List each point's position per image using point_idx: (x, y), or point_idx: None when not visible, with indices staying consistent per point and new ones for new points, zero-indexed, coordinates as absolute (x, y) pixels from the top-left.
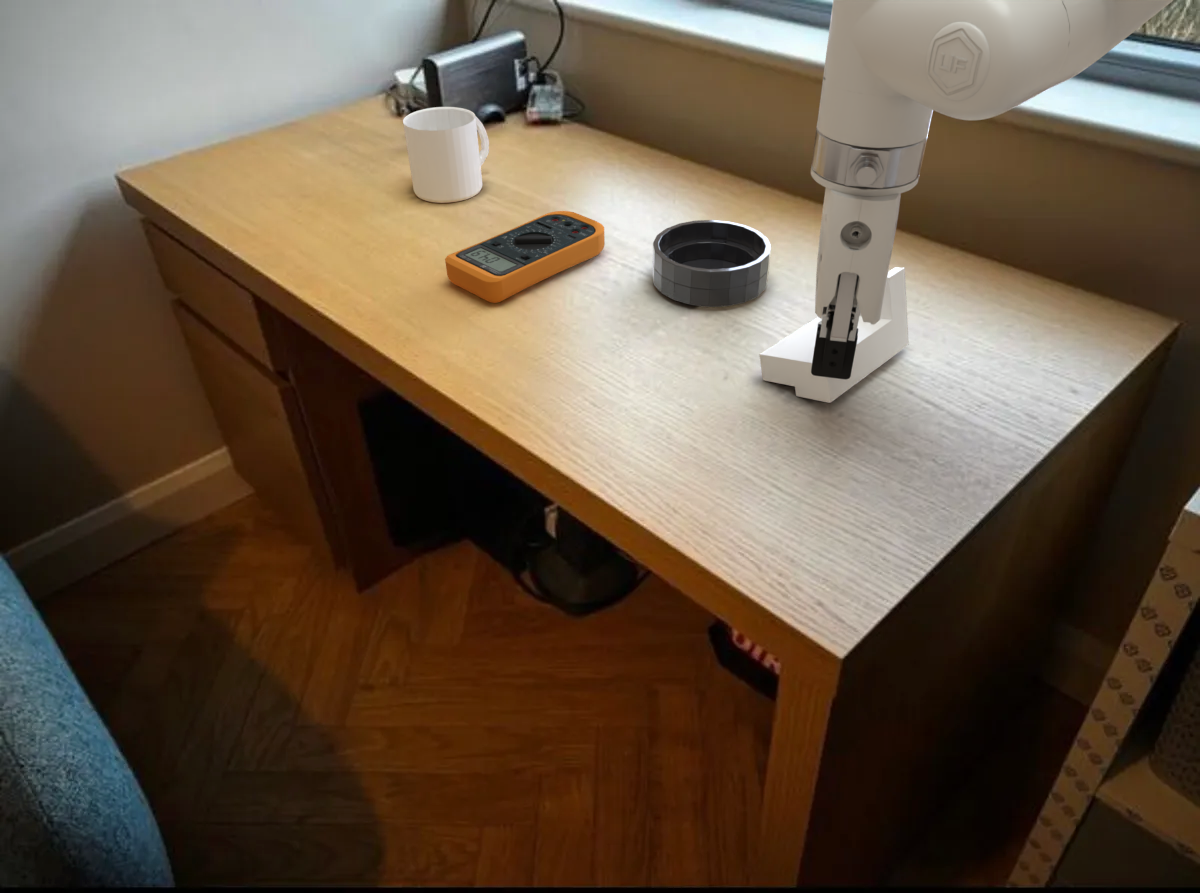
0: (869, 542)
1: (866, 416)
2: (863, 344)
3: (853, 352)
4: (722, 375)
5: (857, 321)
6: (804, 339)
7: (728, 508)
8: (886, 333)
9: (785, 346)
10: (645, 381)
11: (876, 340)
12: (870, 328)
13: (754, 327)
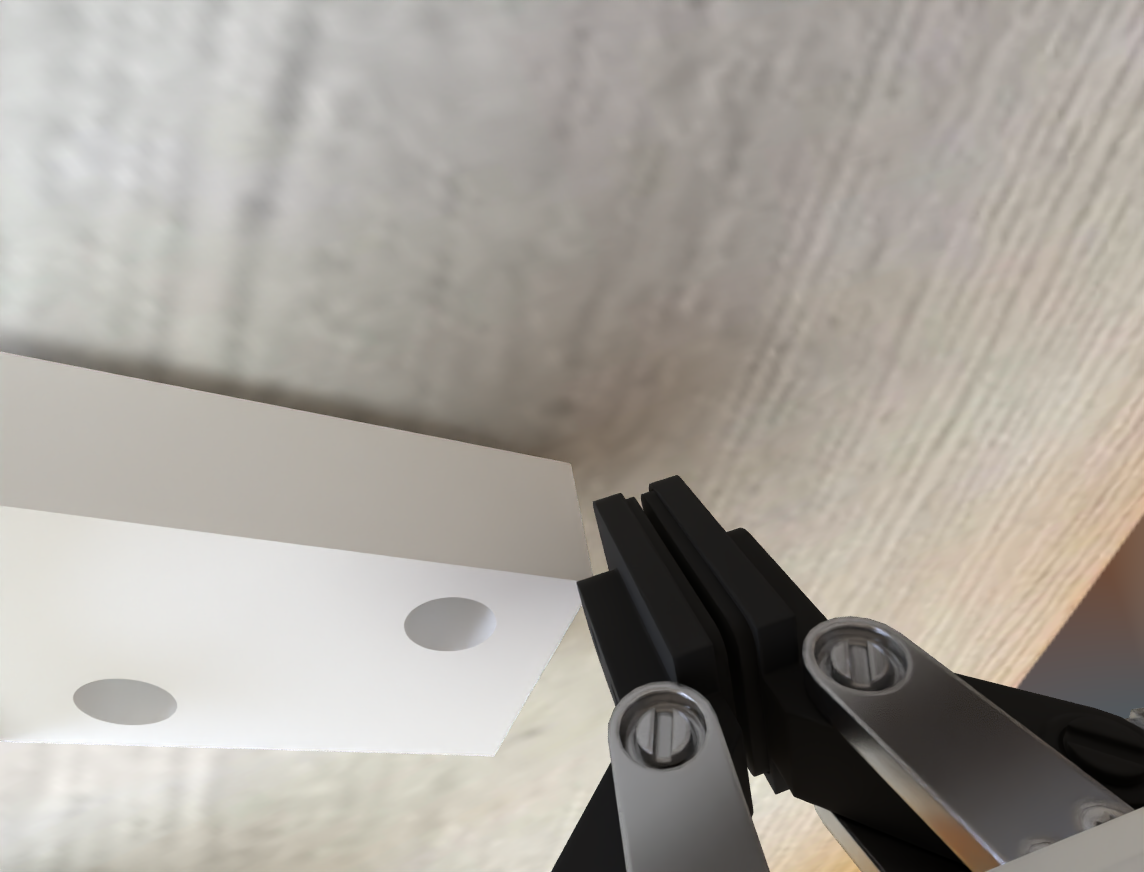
0: (1122, 135)
1: (528, 327)
2: (283, 522)
3: (739, 557)
4: (523, 744)
5: (1070, 762)
6: (336, 707)
7: (1026, 495)
8: (28, 463)
9: (417, 727)
10: None
11: (151, 482)
12: (103, 552)
13: (202, 811)
